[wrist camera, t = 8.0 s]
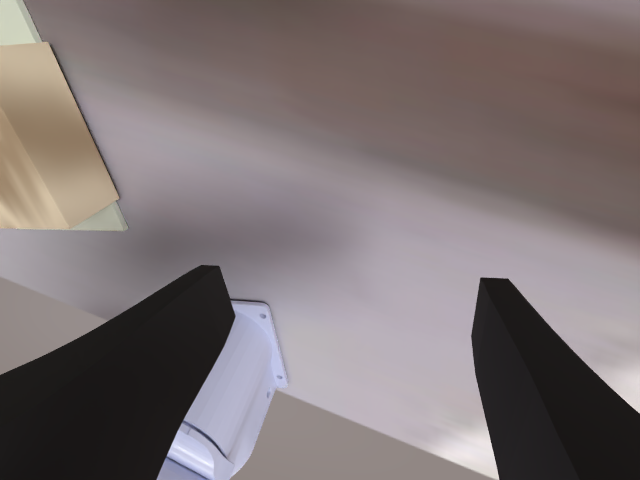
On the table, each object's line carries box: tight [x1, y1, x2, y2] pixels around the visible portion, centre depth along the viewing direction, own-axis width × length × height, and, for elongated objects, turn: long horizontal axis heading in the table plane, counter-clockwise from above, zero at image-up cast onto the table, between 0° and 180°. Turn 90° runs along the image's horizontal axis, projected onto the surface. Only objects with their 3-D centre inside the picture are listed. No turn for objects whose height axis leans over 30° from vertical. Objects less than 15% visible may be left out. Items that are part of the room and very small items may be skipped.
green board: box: [0, 0, 128, 231], centre depth 22 cm, size 14×10×1 cm
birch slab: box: [0, 42, 119, 229], centre depth 20 cm, size 9×4×8 cm
